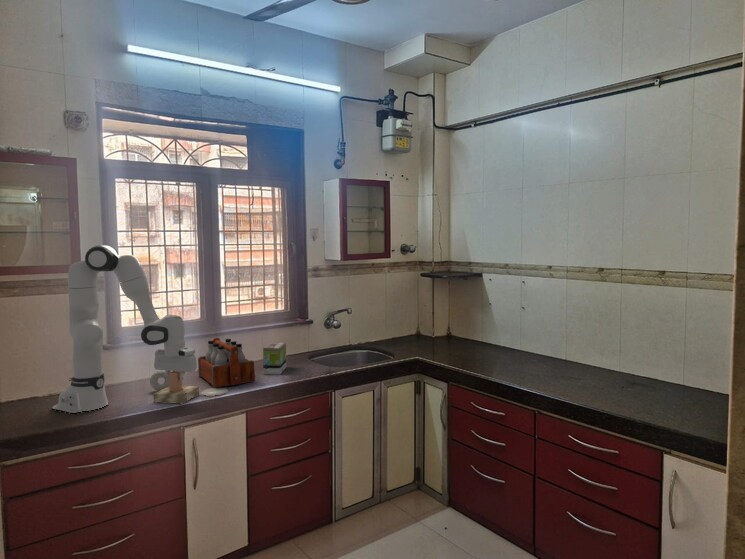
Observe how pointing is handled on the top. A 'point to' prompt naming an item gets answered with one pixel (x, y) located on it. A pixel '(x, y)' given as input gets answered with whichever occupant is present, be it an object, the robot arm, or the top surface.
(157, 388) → the donut
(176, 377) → the peg
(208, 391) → the coaster
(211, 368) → the milk bottle holder
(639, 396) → the top surface
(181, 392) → the holder
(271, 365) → the tea box
